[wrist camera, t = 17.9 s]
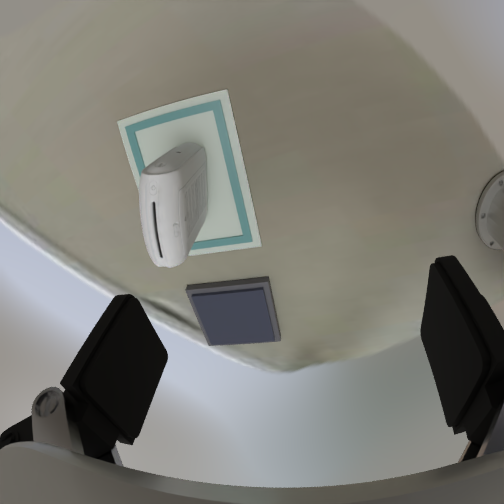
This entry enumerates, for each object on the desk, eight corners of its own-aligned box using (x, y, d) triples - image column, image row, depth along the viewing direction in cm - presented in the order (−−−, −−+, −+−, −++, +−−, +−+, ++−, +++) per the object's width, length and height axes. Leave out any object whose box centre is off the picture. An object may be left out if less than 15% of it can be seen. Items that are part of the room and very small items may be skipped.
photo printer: (172, 141, 34) (125, 173, 23) (207, 140, 33) (173, 173, 23) (177, 219, 39) (141, 276, 29) (209, 221, 39) (183, 280, 28)
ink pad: (268, 276, 43) (267, 284, 41) (280, 335, 49) (280, 343, 47) (187, 285, 45) (184, 292, 43) (210, 340, 51) (208, 348, 49)
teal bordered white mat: (227, 89, 30) (226, 89, 30) (261, 245, 40) (261, 247, 40) (117, 121, 33) (115, 121, 32) (164, 258, 43) (163, 260, 42)
